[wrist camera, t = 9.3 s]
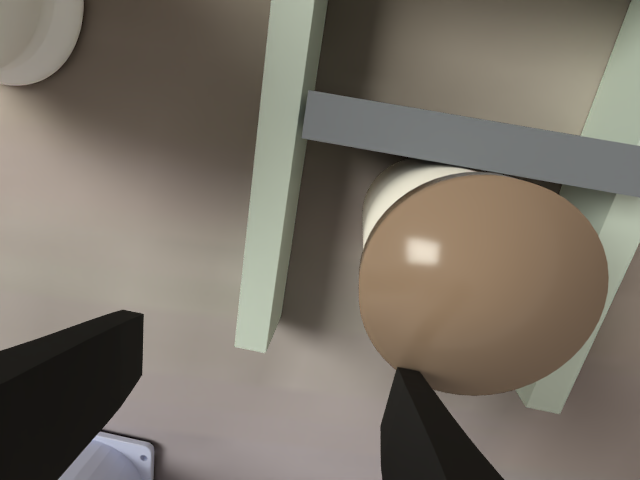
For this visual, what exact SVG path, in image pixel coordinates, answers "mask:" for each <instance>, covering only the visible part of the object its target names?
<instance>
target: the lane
mask: <svg viewBox="0 0 640 480" xmlns="http://www.w3.org/2000/svg"><path fill="white" fill-rule="evenodd" d="M327 5H328V0H271V7H270V16H269V26H268V35H267V45H266V54H265V63H264V73H263V82H262V92H261V101H260V110H259V120H258V129H257V139H256V148H255V157H254V167H253V176H252V186H251V195H250V204H249V214H248V223H247V233H246V242H245V251H244V261H243V270H242V280H241V289H240V298H239V308H238V317H237V327H236V336H235V345H234V347H238V348H242V349H247V350H252V351H257V352H262V353H266V351H267V349H268V346H269V344H270V342H271V339H272V337H273V334H274V332H275V330H276V327H277V325H278V323H279V320H280V318H281V314H282V307H283V300H284V294H285V287H286V280H287V273H288V267H289V260H290V253H291V247H292V240H293V233H294V226H295V220H296V213H297V206H298V200H299V193H300V186H301V179H302V173H303V166H304V159H305V152H306V146H307V139H303V138H302V131H303V124H304V117H305V110H306V103H307V96H308V90H311V91H315V85H316V79H317V72H318V65H319V58H320V52H321V45H322V38H323V31H324V25H325V18H326V11H327ZM581 136H584V137H590V138H595V139H601V140H607V141H613V142H619V143H625V144H631V145H637V146H640V0H631V3H630V5H629V8H628V11H627V13H626V16H625V19H624V21H623V24H622V27H621V29H620V32H619V35H618V37H617V40H616V43H615V45H614V48H613V51H612V53H611V56H610V59H609V61H608V64H607V67H606V69H605V72H604V75H603V77H602V80H601V83H600V85H599V88H598V91H597V93H596V96H595V99H594V101H593V104H592V107H591V109H590V112H589V115H588V117H587V120H586V123H585V125H584V128H583V131H582V133H581ZM559 195H560V196H561V197H563V198H565V199H566V200H568V201H569V202H570V203H571V204H573V205H574V206H575V207H576V208H578V209H579V210H580V212H581V213H582V214H583V215H584V216H585V217H586V218H587V219H588V220H589V222H590V223H591V225H592V226H593V228H594V229H595V231H596V232H597V234H598V236H599V238H600V241H601V243H602V245H603V248H604V251H605V255H606V259H607V263H608V275H609V281H608V293H607V298H606V302H605V306H604V309H603V312H602V314H601V317H600V320H599V322H598V324H597V326H596V327H595V329H594V331H593V333H592V334H591V336H590V337H589V339H588V340H587V341H586V343H585V344H584V345H583V347H582V348H581V349H580V350H579V351H578V352H577V353H576V354H575V355H574V356H573V357H572V358H571V359H570V360H569V361H567V362H566V363H565V364H564V365H563V366H561V367H560V368H559V369H557V370H556V371H554V372H553V373H551V374H550V375H548V376H546V377H544V378H542V379H540V380H538V381H536V382H534V383H532V384H530V385H527V386H524V387H522V388H519V389H516V392H517V394H518V395H519V397H520V399H521V400H522V402H523V403H524V405H525V407H527V408H532V409H536V410H541V411H546V412H551V413H556V414H560V413H561V411H562V408H563V406H564V404H565V402H566V400H567V398H568V396H569V393H570V391H571V389H572V387H573V385H574V383H575V380H576V378H577V376H578V374H579V372H580V370H581V368H582V365H583V363H584V361H585V359H586V357H587V355H588V352H589V350H590V348H591V346H592V344H593V342H594V340H595V337H596V335H597V333H598V331H599V329H600V327H601V324H602V322H603V320H604V318H605V316H606V314H607V312H608V309H609V307H610V305H611V303H612V301H613V299H614V296H615V294H616V292H617V290H618V288H619V286H620V284H621V281H622V279H623V277H624V275H625V273H626V271H627V268H628V266H629V264H630V262H631V260H632V258H633V256H634V253H635V251H636V249H637V247H638V245H639V243H640V198H639V197H633V196H627V195H622V194H616V193H610V192H605V191H599V190H593V189H588V188H582V187H576V186H571V185H565V184H562V187H561V190H560V192H559Z"/></svg>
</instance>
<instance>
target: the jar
mask: <svg viewBox="0 0 640 480" xmlns="http://www.w3.org/2000/svg"><path fill="white" fill-rule="evenodd" d="M83 11H84V0H0V84H4V85H12V86H20V85H29V84H33V83H36V82H39V81H42V80H44V79H46V78H47V77H49V76H51V75H52V74H53V73H55V72H56V71H57V70H58V69H59V68H60V67H61V66H62V65H63V64H64V63H65V62H66V60H67V59H68V58H69V56H70V54H71V53H72V51H73V49H74V47H75V45H76V42H77V40H78V37H79V34H80V30H81V26H82V19H83Z"/></svg>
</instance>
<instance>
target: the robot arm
mask: <svg viewBox="0 0 640 480" xmlns="http://www.w3.org/2000/svg"><path fill="white" fill-rule="evenodd" d="M143 320H144V314H141V313H136V312H131V311H126V310H120V311H117V312H113V313H110V314H107V315H104V316H101V317H98V318H95V319H92V320H89V321H86V322H84V323H81V324H78V325H75V326H72V327H70V328H67V329H64V330H61V331H58V332H56V333H53V334H50V335H47V336H44V337H41V338H39V339H36V340H33V341H30V342H26V343H23V344H20V345H17V346H14V347H11V348H8V349H5V350H2V351H0V480H153V477H154V447H153V445H152V444H151V443H149V442H145V441H141V440H136V439H132V438H127V437H123V436H118V435H114V434H109V433H105V432H100V431H101V430H102V428H103V427H104V426H105V425H106V424H107V423H108V421H109V420H110V419H111V418H112V417H113V415H114V414H115V413H116V412H117V411H118V409H119V408H120V407H121V406H122V404H123V403H124V401H125V400H126V398H127V397H128V395H129V394H130V393H131V391H132V390H133V388H134V386H135V385H136V383H137V382H138V380H139V379H140V377H141V376H142V360H143ZM381 471H382V480H504V479H503V478H502V477H501V475H500V474H499V473H498V472H497V471H496V470H495V468H494V467H493V466H492V465H491V464H490V463H489V461H488V460H487V459H486V458H485V457H484V456H483V454H482V453H481V452H480V451H479V450H478V448H477V447H476V446H475V445H474V443H473V442H472V441H471V440H470V438H469V437H468V436H467V435H466V433H465V432H464V431H463V430H462V428H461V427H460V426H459V424H458V423H457V422H456V420H455V419H454V418H453V416H452V415H451V414H450V412H449V411H448V410H447V408H446V407H445V406H444V404H443V403H442V402H441V400H440V399H439V397H438V396H437V395H436V393H435V392H434V390H433V389H432V388H431V386H430V385H429V383H428V382H427V381H426V379H425V378H424V377H423V375H422V374H421V373H420V371H415V370H410V369H406V368H401V367H397V369H396V373H395V376H394V380H393V384H392V387H391V391H390V394H389V398H388V402H387V405H386V409H385V412H384V416H383V419H382V423H381Z"/></svg>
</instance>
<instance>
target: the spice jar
mask: <svg viewBox="0 0 640 480" xmlns="http://www.w3.org/2000/svg"><path fill="white" fill-rule="evenodd" d="M362 227H363V252H362V255H361V260H360V267H359V305H360V313H361V317H362V320H363V324H364V327H365V329H366V332H367V334H368V336H369V338H370V340H371V342H372V343H373V345H374V346H375V348H376V350H377V351H378V352H379V353H380V354H381V356H382V357H383V358H384V359H385V360H386V361H387V362H388V363H389V364H390V365H391V366H392V367H393V368H394V369H397V367H401V368H406V369H410V370H415V371H420V373H421V374H422V375H423V377H424V378H425V379H426V381H427V382H428V383H429V385H430V386H431V388H432V389H434V390H437V391H441V392H445V393H451V394H457V395H471V396H477V395H492V394H498V393H504V392H508V391H512V390H516V389H519V388H522V387H524V386H527V385H530V384H532V383H534V382H536V381H538V380H540V379H542V378H544V377H546V376H548V375H550V374H551V373H553V372H554V371H556V370H557V369H559V368H560V367H561V366H563V365H564V364H565V363H566V362H567V361H569V360H570V359H571V358H572V357H573V356H574V355H575V354H576V353H577V352H578V351H579V350H580V349H581V348H582V347H583V345H584V344H585V343H586V341H587V340H588V339H589V337H590V336H591V334H592V333H593V331H594V329H595V327H596V326H597V324H598V322H599V320H600V317H601V314H602V312H603V309H604V306H605V302H606V298H607V293H608V281H609V275H608V263H607V259H606V255H605V251H604V248H603V245H602V243H601V241H600V238H599V236H598V234H597V232H596V231H595V229H594V228H593V226H592V225H591V223H590V222H589V220H588V219H587V218H586V217H585V216H584V215H583V214H582V213H581V212H580V210H579V209H578V208H576V207H575V206H574V205H573V204H571V203H570V202H569V201H568V200H566V199H565V198H563V197H561V196H560V195H558V194H556V193H555V192H553V191H551V190H549V189H546V188H544V187H541V186H539V185H536V184H534V183H530V182H527V181H523V180H520V179H516V178H513V177H509V176H505V175H501V174H497V173H488V172H476V171H473V170H470V169H467V168H464V167H461V166H457V165H451V164H445V163H440V162H434V161H428V160H423V159H417V158H409V159H406V160H402V161H400V162H397V163H395V164H393V165H392V166H390V167H388V168H387V169H386V170H384V171H383V172H382V173H381V174H380V175H379V176H378V177H377V178H376V179H375V180H374V182H373V183H372V184H371V186H370V188H369V189H368V192H367V194H366V196H365V199H364V203H363V209H362Z"/></svg>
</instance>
